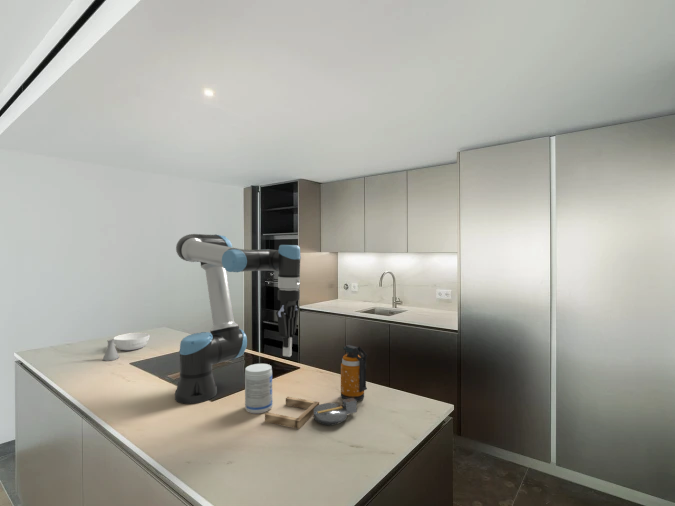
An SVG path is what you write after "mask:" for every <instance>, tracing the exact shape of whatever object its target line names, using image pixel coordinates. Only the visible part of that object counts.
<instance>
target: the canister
mask: <svg viewBox="0 0 675 506" xmlns="http://www.w3.org/2000/svg"><path fill="white" fill-rule="evenodd" d="M343 350H344V351H345V352H346V353H345V354H344V355H343V356H342V358H341V361H342V362H341V363H340V398H341V400H344V399H349V398H354V399H355V400H356V402H358V401H362V400H363V399H364V398H365V391H366V390H368V388H367V358H368V354H367V353H366V352H365V351H364V349H362V347H361V346H354V345H351V344H348V345H345V346H343Z"/></svg>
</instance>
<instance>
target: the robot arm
mask: <svg viewBox="0 0 675 506" xmlns="http://www.w3.org/2000/svg"><path fill="white" fill-rule="evenodd" d="M175 246H176V247H175V251H176V254H177V256H178V257H179V258H180V259H182V260H183V261H186V262H191V263H194V262H195V263H197V262H199V263H200V268H202V269H203V270H204V271H205V277H206V285H207V291H208V298H209V304H210V310H211V311H210V313H211V319H212V327H211V329H210V330H209V331H202V332H195V333H192V334H189V335H186V336H185V337H183V338H182V340H181V341H180V342H179V344H180V345H179V350H178V351H179V379H178V383H177V386H176V389H175V393H174V400H175V401H176V402H177V403H180V404H196V403H198V404H199V403H202V402H206V401H208V400H211V399H212V398H214V397H216V395H217V394H218V387H217V384H216V382H215V378H214V375H213V365H216V364H220V363H223V362H228V361H231V360H232V361H233V360H235V359H238V358H241V356H243V355H244V353H245V351H246V350H247V346H248V337H247V334H246V333H245V331H244V330H243V329H241V328H240V325H239V324H238V323H237V322H235V317H234V310H233V303H232V297H231V290H230V284H229V278H228V273H240V272H241V273H242V272H258V271H259V272H260V271H278V272H277V273H278V274H277V276H278V278H277V288H278V290H277V300H278V301H280V307H279V308H280V309H279V310H276V312H275V315H276V317H277V325H278V335H279V338H282V356H283V357H289V358H291V356H292V353H293V349H292V347H293V338H295V337H296V333H297V322H298V315H299V311H300V306H298V305H297V301H299V300H300V289H299V288H300V285H301V284H300V283H301V279H300V277H301V259H302V257H301V247H300V246H299V245H297V244H280V245H279V246H278V249H269V248H267V249H266V248H263V249H244V248H243V249H242V248H238V247H237V248H236V247H233V245H232V242H231V240H230V239H229V238H227V237H226V236H225V235H220V234H200V233H199V234H198V233H191V234H186V235H183V236H182V237H181V238H179V240H178V241H177V243H176V245H175ZM292 357H293V356H292Z"/></svg>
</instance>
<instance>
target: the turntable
mask: <svg viewBox="0 0 675 506" xmlns="http://www.w3.org/2000/svg"><path fill="white" fill-rule="evenodd" d="M353 413H354V414H355V413H357V401H356V400H355V399H354V398H349V399H342V404H340V403H335V402H327V403H326V402H325V403H320V404H319V405H318V406H316V407H315V408H314V415H313V419H314V421H315V422H317V423H320V424H322V423H323V424H322V425H324V424H336V425H338V424H341V423H342V422H344V421H346V419H347V417H348V415H349V414H350V415H351V414H353ZM337 423H338V424H337Z"/></svg>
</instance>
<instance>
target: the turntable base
mask: <svg viewBox="0 0 675 506" xmlns="http://www.w3.org/2000/svg"><path fill="white" fill-rule="evenodd" d="M321 424H322V425H325V426H336V425H338V424H339V423H337V424H323V423H321Z"/></svg>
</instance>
